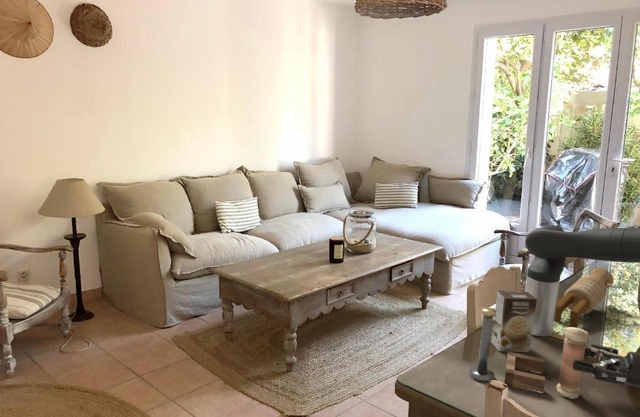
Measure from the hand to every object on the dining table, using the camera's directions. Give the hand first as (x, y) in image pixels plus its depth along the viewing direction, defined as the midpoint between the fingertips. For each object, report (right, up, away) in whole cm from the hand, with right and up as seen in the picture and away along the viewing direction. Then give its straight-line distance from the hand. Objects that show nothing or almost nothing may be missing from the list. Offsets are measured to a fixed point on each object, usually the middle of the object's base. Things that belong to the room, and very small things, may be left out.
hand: (572, 356), depth 123 cm
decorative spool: (+29, -1, +53) cm, 60 cm away
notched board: (-8, -8, +8) cm, 14 cm away
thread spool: (0, -9, +2) cm, 10 cm away
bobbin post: (-19, -7, +8) cm, 22 cm away
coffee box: (-5, -5, +25) cm, 26 cm away
